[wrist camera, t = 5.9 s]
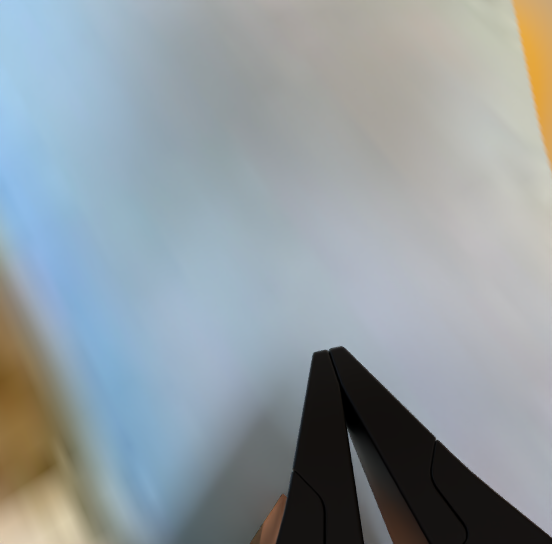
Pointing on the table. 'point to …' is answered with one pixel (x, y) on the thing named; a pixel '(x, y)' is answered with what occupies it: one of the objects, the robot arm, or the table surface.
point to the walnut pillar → (271, 524)
